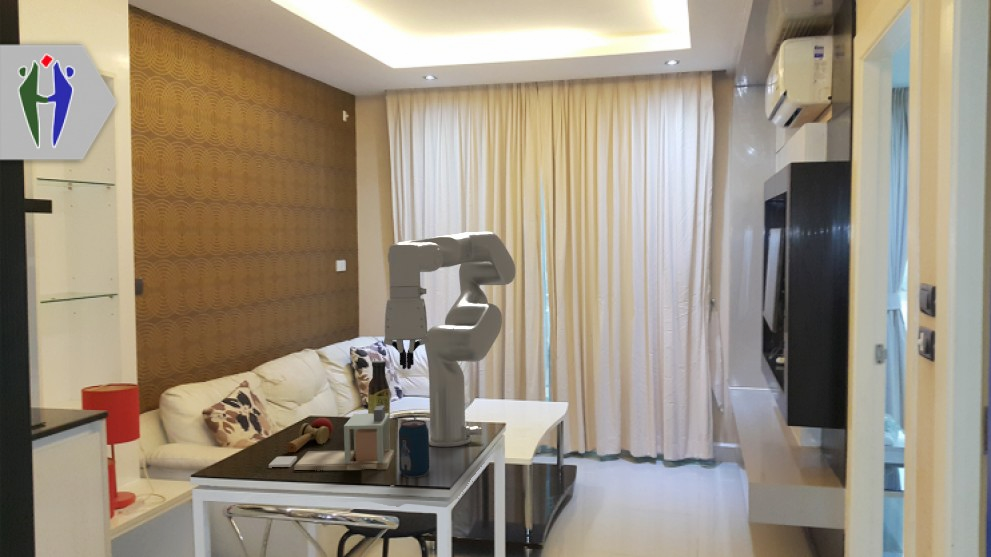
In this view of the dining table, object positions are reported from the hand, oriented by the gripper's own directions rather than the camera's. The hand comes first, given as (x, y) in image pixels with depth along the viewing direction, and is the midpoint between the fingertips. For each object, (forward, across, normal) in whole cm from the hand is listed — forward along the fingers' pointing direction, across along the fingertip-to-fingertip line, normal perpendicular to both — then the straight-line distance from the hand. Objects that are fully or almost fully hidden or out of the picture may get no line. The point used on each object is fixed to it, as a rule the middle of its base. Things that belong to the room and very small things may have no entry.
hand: (406, 368), depth 184 cm
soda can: (+23, -2, +10) cm, 26 cm away
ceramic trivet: (+23, +31, 0) cm, 39 cm away
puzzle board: (+23, +16, 0) cm, 28 cm away
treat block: (+23, +10, 0) cm, 25 cm away
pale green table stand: (+21, +10, 0) cm, 24 cm away
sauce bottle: (+23, +12, -34) cm, 43 cm away
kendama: (+24, +29, -18) cm, 41 cm away
